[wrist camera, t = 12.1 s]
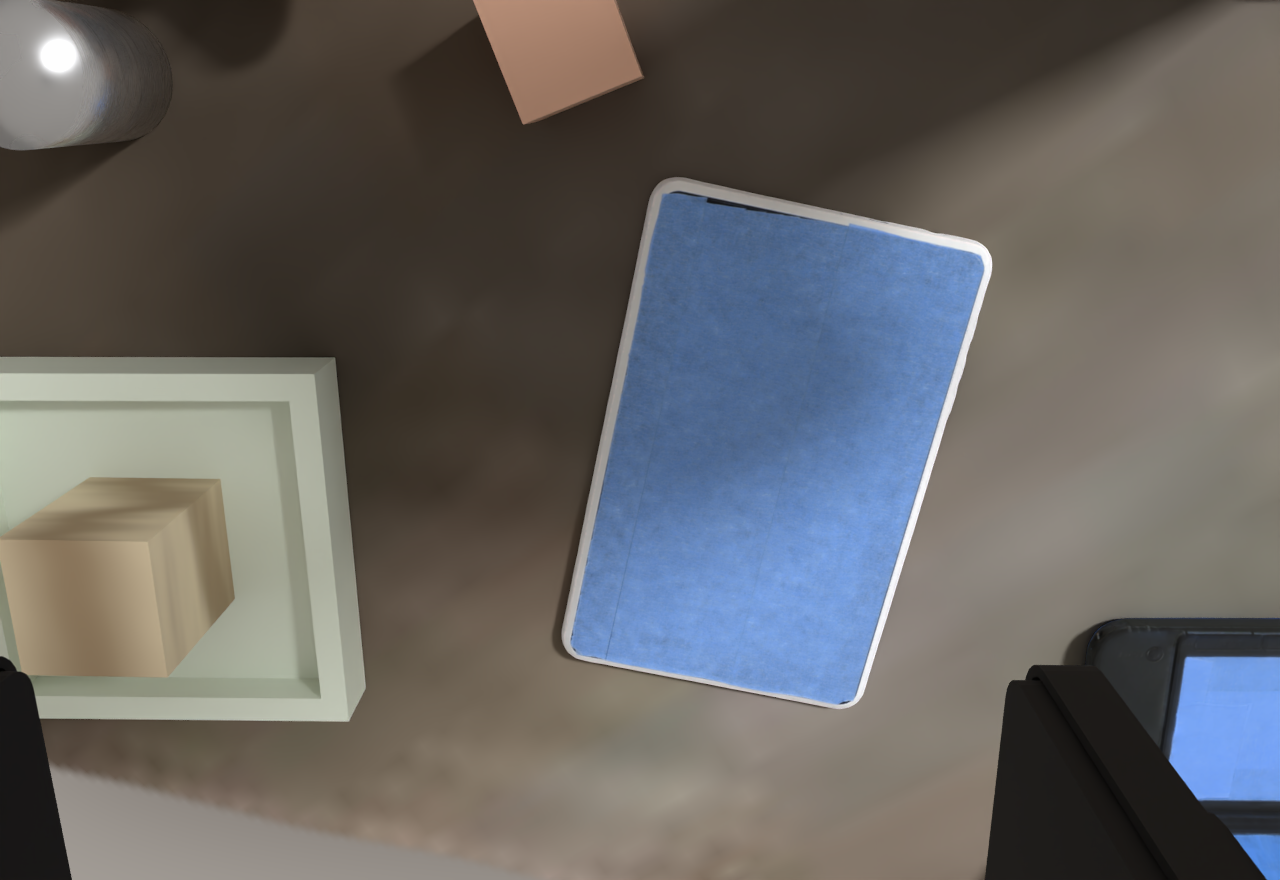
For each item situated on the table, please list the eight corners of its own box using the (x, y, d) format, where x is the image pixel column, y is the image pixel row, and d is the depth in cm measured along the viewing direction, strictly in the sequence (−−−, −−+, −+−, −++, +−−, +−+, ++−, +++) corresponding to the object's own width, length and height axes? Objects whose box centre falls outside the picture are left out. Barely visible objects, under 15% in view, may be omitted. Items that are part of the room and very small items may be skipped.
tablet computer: (655, 169, 39) (654, 172, 37) (995, 242, 39) (1006, 247, 38) (558, 643, 44) (555, 659, 43) (855, 700, 45) (861, 718, 44)
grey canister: (163, 7, 37) (70, -9, 31) (180, 141, 38) (94, 150, 32) (35, 7, 37) (-81, -8, 31) (57, 141, 38) (-50, 150, 32)
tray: (335, 357, 40) (314, 373, 38) (365, 687, 45) (349, 721, 42) (-34, 356, 41) (-78, 373, 38) (31, 684, 45) (-4, 718, 43)
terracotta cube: (601, -40, 36) (593, -56, 32) (644, 78, 37) (641, 75, 33) (492, 6, 37) (471, -4, 33) (537, 121, 38) (522, 124, 34)
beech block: (220, 478, 41) (147, 541, 35) (234, 598, 42) (167, 677, 37) (89, 477, 41) (-4, 539, 35) (109, 596, 43) (22, 675, 37)
